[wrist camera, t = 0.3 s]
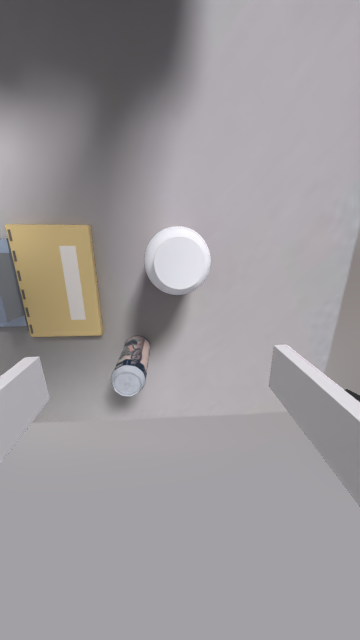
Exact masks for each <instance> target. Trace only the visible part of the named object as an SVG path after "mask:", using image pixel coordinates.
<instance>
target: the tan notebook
mask: <svg viewBox="0 0 360 640" xmlns="http://www.w3.org/2000/svg"><path fill="white" fill-rule="evenodd" d="M5 227H6V231H7V235H8V240H9V244H10V248H11V253H12V257H13V261H14V266H15V270H16V274H17V279H18V283H19V287H20V292H21V296H22V300H23V305H24V309H25V313H26V318H27V322H28V326H29V331H30V335H31V337H55V336H95V335H102V334H103V326H102V318H101V309H100V301H99V292H98V284H97V275H96V267H95V259H94V250H93V242H92V233H91V226H90V225H16V224H5Z"/></svg>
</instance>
